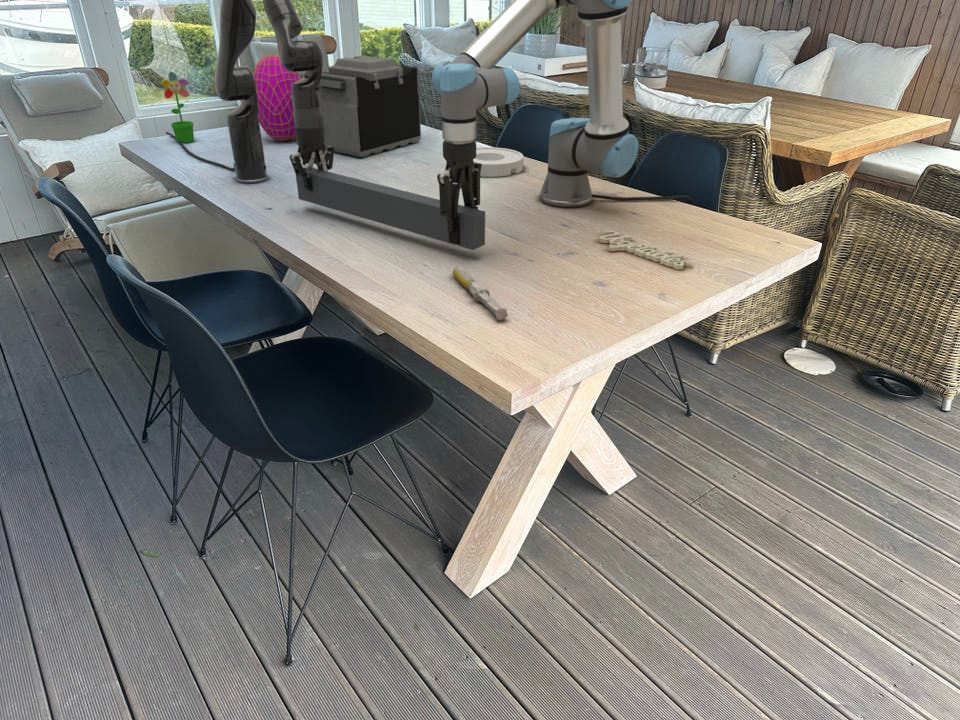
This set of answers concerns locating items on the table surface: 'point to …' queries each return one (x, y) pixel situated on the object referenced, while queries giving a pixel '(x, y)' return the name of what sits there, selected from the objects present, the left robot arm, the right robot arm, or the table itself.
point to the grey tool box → (369, 105)
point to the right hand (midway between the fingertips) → (461, 239)
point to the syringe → (479, 293)
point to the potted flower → (181, 128)
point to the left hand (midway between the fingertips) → (316, 188)
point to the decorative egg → (275, 97)
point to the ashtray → (498, 161)
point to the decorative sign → (643, 250)
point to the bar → (392, 207)
